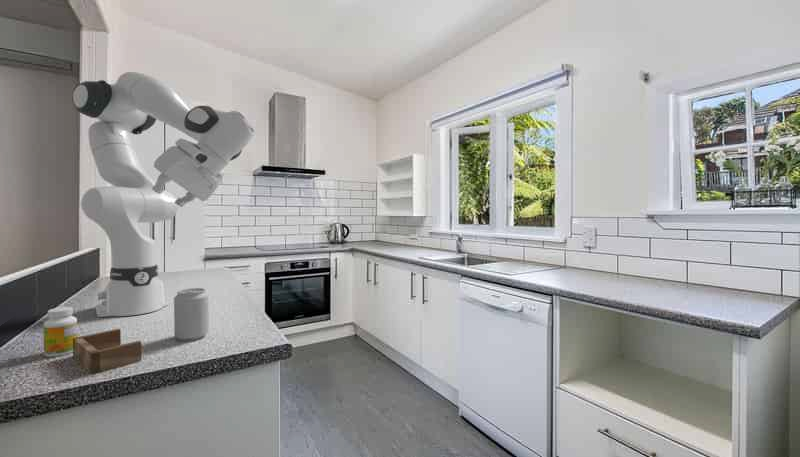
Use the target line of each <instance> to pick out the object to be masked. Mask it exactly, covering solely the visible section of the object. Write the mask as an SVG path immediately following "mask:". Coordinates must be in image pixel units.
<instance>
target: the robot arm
mask: <svg viewBox="0 0 800 457" xmlns="http://www.w3.org/2000/svg"><path fill="white" fill-rule="evenodd" d="M71 97H72V103H73V106H74V108H75V109H76V110H77V112H79V114H80V113H81V114H82V115H84V116H86V117H89V118H92V119H97V120H99V121H96V122H94V123H92V124H91V125H90V126H89V127H88V130H87V131H88V141H89V143H88V144H89V146H90V147H89V148H90V151H91V155H92V158H93V160H94V163H95V165H96V167H97V171H98V174H99V176H100V177H101V179H103V181H106V182H107V184H111V185H108V186H107V185H106V186H97V187H91V188H89V189H88V190H86V192H85V193H84V194H83V195H82V198H81V202H80V204H81V205H80V207H81V210H82V212H83V214H84V215H85V216H86V218H88V219H89V220H91V221H93V222H95V224H97V225H98V226H99V227H100V228H101V229H102V230H103V231H104V232H105V234H106V236H107V237H108V239H109V242H110V248H111V259H112V260H111V261H112V262H111V263H112V267H111V268H110V271H109V282H108V284H107V285H106V287H105V288H104V290H102V292H101V291H100V292H98V293H97V298H98V301H100V300H101V302H100V303H96V304H95V306H94V308H95V314H96V317H97V318H103V317H106V318H107V317H126V316H135V315H136V316H137V315H142V314H147V313H152V312H156V311H158V310H161V309H163V308H164V307H167V306H169V305H170V302H169V301H168V300H165V294H164V283H163V281H162V279H160V278H158V275H159V268H158V267H159V266H158V265H157V247H156V245H157V244H156V242H155V240H154V239H153V238H152V237H151V236H148V235H146V234H144V233H142V232H141V231H140V229H139V227H138V226H139V225H138V223H159V222H164V221H169V220H172V219H174V217H175V215H176V214H177V213H178V208H179V207H180V208H182V207H184V206H185V205H186V204H188V203H190V202H192V201H194V200H195V199H199V201H201V202H204V201H207V200H209V198H210V197H211V196H212V195H213V194H214V193H215V191H217V189H218V187H219V185H220V183H221V182H222V180H221V179H222V175H221V174H220V172H222V171H223V169H224V168H226V166H228V164H229V163H230V161H233V160H235V159H237V158H238V157H239V156H240V155H241V153H242V151H243V149H244V148H245V147H246V146H247V145H248V144H249V142H250V141H251V140H252V138H253V136H254V133H255V131H254V128H253V126H252V125H251V124H250V123H249V121H248V120H247V118H246V117H245V116H244V115H243V114H242V113H240V112H239V111H237V110H231V111H221V110H218V109H215V108H213V107H211V106H210V105H198V106H194V107H193V108H191V109H190V107H189V106H188V105H187V103H185V102H184V101H183V99H182V98H181V97H180V96H179V95H178V94H177V93H176V92H175V91H174V90H173V89H172V88H171V87H170V86H168V85H167V84H166V83H165V82H163V81H161V80H159V79H157V78H155V77H153V76H150V75H148V74H144V73H140V72H136V71H128V72H124V73H122V74H121V75H119V77H118V78H117V80H116V83H113V84H110V83H107V81H106V80H103V79H100V80H97V81H96V80H95V81H93V80H92V81H91V80H89V81H83V82H80V83H78V84H77V85H76V86H75V87H74V88H73V92H72V96H71ZM157 120H158V121H159V122H162V123H164V124H165V125H168V126H170V127H172V128H174V129H175V130H177V131H180V132H182V133H184V134H185V135H187V136H189V137H190V138H192V139H193V140H195V141H197V142H196V143H195V142H192V141H189V140H186V139H184V138H178V139H177V140H175V145H173V146H170V147H169V148H167V149H166V150H165V151H164V152H163V153H162V154H160V155H158V157H157V158H156V159H155V161H154V162H153V163H154V164H153V167H154V168H155V170H157V171H158V172H160V173H159V175H158V177H157V180H156V182H155V181H154V180H153V179H152V178H151V177H150V176H149V175H148V173H146V171H145V170H144V168H143V166H142V163H141V162H140V159H139V157H138V155H137V153H136V149H135V147H134V145H133V142H132V138H131V134H133V135H141V134H142V133H143V132H145V131H147V130H148V129H150V128H151V127H153V126H154V125H155V123H156V122H157ZM170 181H173V182H174V183H175V184H177V185H178V186H180V187H181V188H183V189H184V190H186V191H187V192H186V193H185V195H184V196H183V197H181V198H180V197H178V198H177V199H176V197H175V196H174V194H172V193H171V192H169V191H167V190H166V189H165V188H164V187H165V185H166V183H169V182H170Z"/></svg>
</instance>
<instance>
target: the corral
mask: <svg viewBox="0 0 800 457" xmlns="http://www.w3.org/2000/svg"><path fill="white" fill-rule="evenodd" d="M121 333H122V332H121V328H115V329H112V330H106V331H100V332H96V333H92V334H87V335H86V334H85V335H83V336H82V335H81V336H78V337H76V338H73V352H72V356H73V358H74V359H75V360H76V361H77V362H79V363H80V364H81V366H83V367H84V368H85V369H86V370H87V371H89V373H90V374H91V375H95V374H98V373H102V372H104V371H105V372H106V371H109V370H112V369H116V368H119V367H123V366H126V365H132V364H134V363H139V362H141V361H142V341H140V340H137V341H132V342H129V343H124V344H123V343H122V344H121V342H122V341H121V339H122V337H121Z"/></svg>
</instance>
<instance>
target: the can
mask: <svg viewBox="0 0 800 457" xmlns="http://www.w3.org/2000/svg"><path fill="white" fill-rule="evenodd" d="M173 303H174V304H173V310H174V312H173V316H174V317H173V320H174V323H173V325H174V326H173V328H174V331H173V332H174V337H175V338H176V339H177V340H179V341H181V342H189V341H190V342H191V341H196V340H200V339H202V338H205V336H206V335H207V334H208V333H209V331H210V330H209V329H210V328H209V327H210V326H209V323H210V322H209V319H210V318H209V317H210V316H209V294H208V293H207V292H206V288H203V287H201V288H200V287H193V288H184V289H180V290H178V291H176V295H175V296H174V297H173Z"/></svg>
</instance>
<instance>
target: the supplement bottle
mask: <svg viewBox="0 0 800 457" xmlns="http://www.w3.org/2000/svg"><path fill="white" fill-rule="evenodd" d="M73 312H74V308H73V307H72V306H62V307H56V308H55V307H54V308H51V309H49V310H48V311H47V318H48V319H47V320H45V321H44V322H43V355H44V356H45V357H59V356H65V355H68V354H71V353H72V354H73V338H76V337H79V336H78V319H77V317H76V316H73Z"/></svg>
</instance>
